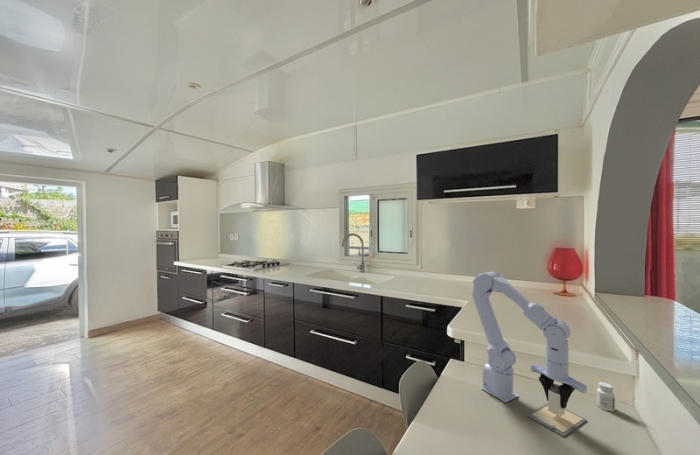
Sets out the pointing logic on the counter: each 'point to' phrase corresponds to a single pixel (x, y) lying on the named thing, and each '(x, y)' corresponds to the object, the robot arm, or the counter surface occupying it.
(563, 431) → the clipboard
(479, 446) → the counter surface
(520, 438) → the counter surface
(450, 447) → the counter surface
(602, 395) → the pill bottle
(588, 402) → the counter surface
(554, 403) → the block with domed cap
